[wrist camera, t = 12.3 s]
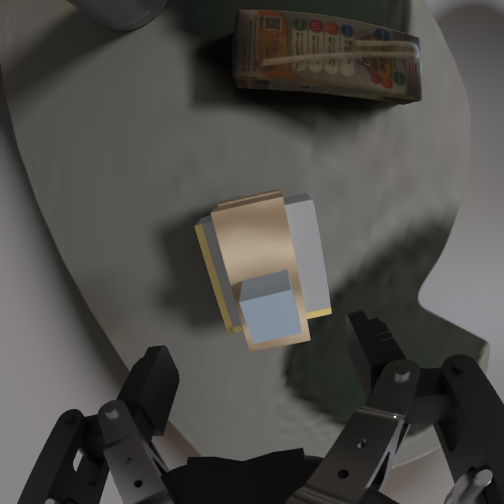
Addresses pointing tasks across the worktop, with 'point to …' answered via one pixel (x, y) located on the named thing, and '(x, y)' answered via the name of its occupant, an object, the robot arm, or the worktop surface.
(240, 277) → the tan rectangular block
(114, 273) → the worktop surface
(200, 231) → the dock
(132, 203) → the worktop surface
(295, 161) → the worktop surface
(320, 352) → the worktop surface
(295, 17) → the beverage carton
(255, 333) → the pale blue cube
